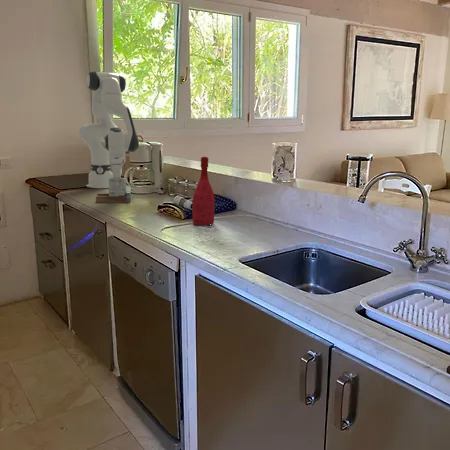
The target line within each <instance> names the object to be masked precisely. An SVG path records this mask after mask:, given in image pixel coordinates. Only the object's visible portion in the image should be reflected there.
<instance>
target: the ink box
mask: <svg viewBox="0 0 450 450" xmlns="http://www.w3.org/2000/svg"><path fill="white" fill-rule="evenodd" d="M108 193H109V196H127V194H126V193H127V178H126V177H120V179H119V186H116V181H115V179H114V178H109V188H108Z"/></svg>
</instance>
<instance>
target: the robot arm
mask: <svg viewBox="0 0 450 450" xmlns="http://www.w3.org/2000/svg"><path fill="white" fill-rule="evenodd" d="M86 85H87V88H88V89H89V90H90V91H92V97H91V98H92V99H91V113H92V115H93V117H95V118H97V119H98V123H87V124H82V125H81V126H80V127H79V129H78V137H79V138H80V140H82V141H83V142H84V143H85V145H87V147H88V149H89V152H90V161H91V164H90V170H91V171H90V172H89V173H88V184H86V185H85V187H86V186H87V187H86V188H90V189H109V178H114V179H115V181H116V186H119V179H120V178H122V177H121V176H122V174H123V173H122V172H123V171H122V170H123V169H122V167H123V166H124V164H125V163H126V162H127V160H126V158H127V157H126V152H128V153H134V152H136V151H137V150H138V149H139V148H140V147H139V146H140V141H139V138H138V135H137V132H136V128H135V125H134V121H133V117H132V113H131V110H130V108H129V107H128V106H127V105H126V104H125V102H124V101H123V99H122V98H123V97H122V93H123V92H124V91H125V90H126V87H127V82H126V78H125V75H122V74H119V73H115V72H104V71H89V73H88V74H87V76H86ZM112 115H113V116H116V117H118V118H120V119H122V120H123V121H124V125H125V127H126V132H127V133H125V130H124V129H123V128H120V127H118V126H117V125H116V124H115V123H114V121H113V118H112ZM102 142H103V143H104V147H103V145H102Z"/></svg>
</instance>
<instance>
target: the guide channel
mask: <svg viewBox="0 0 450 450" xmlns="http://www.w3.org/2000/svg"><path fill="white" fill-rule="evenodd" d="M126 194H127V196H109V192H103V193H102V192H100V193H98V192H97V194H96V196H95V203H131V200H132V191H131V189H126Z"/></svg>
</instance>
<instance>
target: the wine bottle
mask: <svg viewBox="0 0 450 450" xmlns="http://www.w3.org/2000/svg"><path fill="white" fill-rule="evenodd" d="M208 168H209V157H207V156H202V157H200V170H201V171H200V178H199V180H198V183H197V186H196V187H195V190H194V193H193V196H192V223H193V225H195V224H196V225H195V226H198V225H210V224H212V225H214V223H215V212H216V210H215V207H216V203H215V202H216V200H215V194H214V190H213V189H212V188H213V187H212V186H211V183H210V181H209V175H208ZM210 226H211V225H210Z"/></svg>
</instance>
